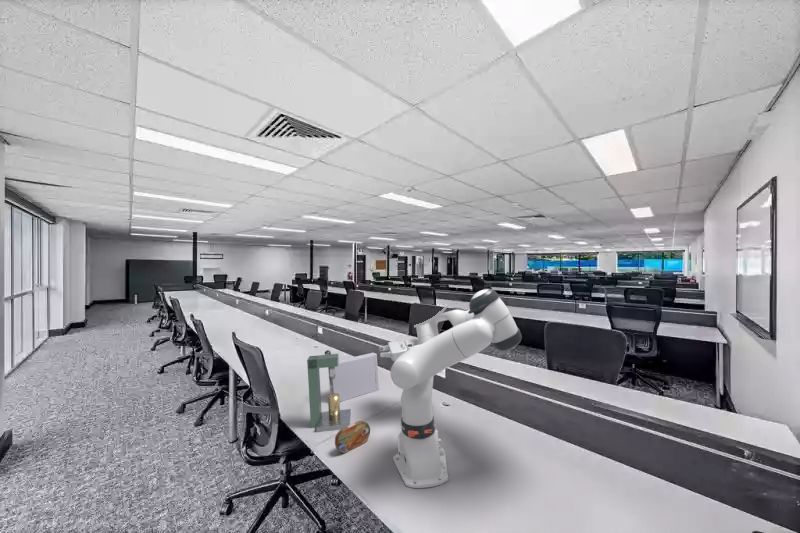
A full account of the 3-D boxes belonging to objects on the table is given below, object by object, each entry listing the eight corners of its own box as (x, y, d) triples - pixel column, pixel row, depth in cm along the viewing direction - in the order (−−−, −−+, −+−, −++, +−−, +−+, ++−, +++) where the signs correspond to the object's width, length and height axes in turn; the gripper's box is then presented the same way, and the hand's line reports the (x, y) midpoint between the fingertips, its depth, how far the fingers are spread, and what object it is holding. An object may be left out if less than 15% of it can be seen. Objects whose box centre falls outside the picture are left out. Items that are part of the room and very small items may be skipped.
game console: (380, 389, 174) (378, 354, 174) (334, 404, 159) (332, 365, 159) (375, 386, 179) (373, 352, 179) (330, 400, 163) (328, 362, 163)
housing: (339, 419, 138) (339, 397, 138) (328, 420, 137) (327, 398, 137) (340, 414, 143) (339, 392, 143) (329, 415, 142) (328, 393, 142)
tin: (338, 457, 114) (337, 434, 114) (334, 453, 116) (333, 431, 116) (371, 440, 124) (370, 419, 124) (366, 437, 126) (365, 416, 126)
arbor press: (349, 428, 134) (345, 359, 134) (309, 432, 132) (305, 362, 132) (351, 406, 155) (348, 346, 154) (316, 410, 153) (313, 349, 152)
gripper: (405, 337, 154) (378, 339, 153) (412, 348, 134) (380, 351, 132) (406, 350, 154) (378, 352, 153) (413, 362, 134) (381, 365, 132)
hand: (379, 351), depth 142 cm, fingers open, 8 cm apart
